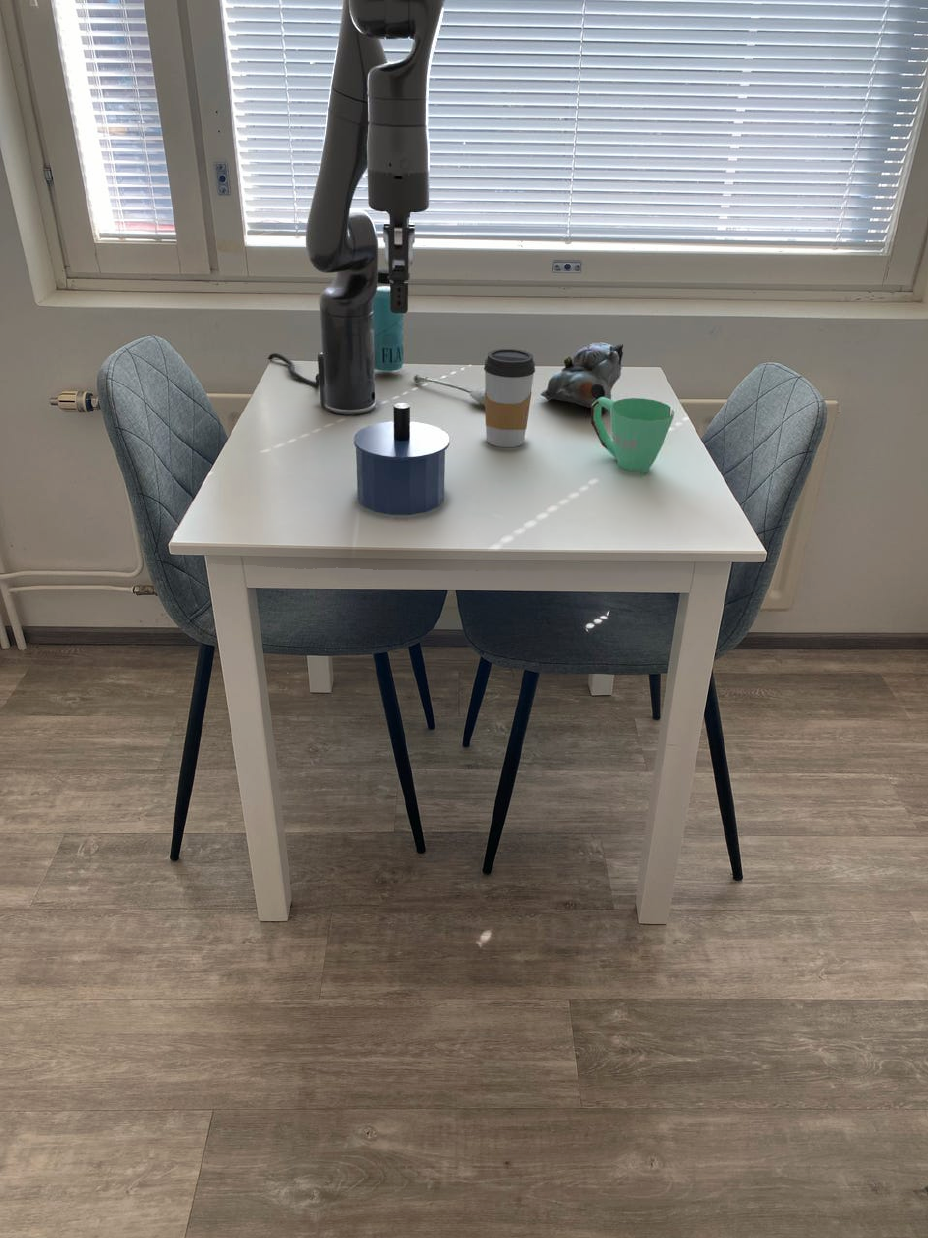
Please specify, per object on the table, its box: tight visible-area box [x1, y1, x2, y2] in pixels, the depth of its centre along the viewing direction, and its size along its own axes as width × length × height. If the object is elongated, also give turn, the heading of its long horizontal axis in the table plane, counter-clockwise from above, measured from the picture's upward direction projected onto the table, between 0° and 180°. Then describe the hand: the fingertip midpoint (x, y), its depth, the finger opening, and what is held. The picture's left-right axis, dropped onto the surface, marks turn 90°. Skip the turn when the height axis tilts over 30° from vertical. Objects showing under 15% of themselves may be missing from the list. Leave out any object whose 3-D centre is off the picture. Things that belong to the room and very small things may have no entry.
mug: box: [590, 397, 675, 475], centre depth 144 cm, size 15×10×10 cm
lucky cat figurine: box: [540, 342, 624, 415], centre depth 166 cm, size 15×12×14 cm
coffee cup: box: [483, 348, 536, 448], centre depth 148 cm, size 8×8×15 cm
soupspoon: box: [413, 374, 485, 407], centre depth 171 cm, size 22×3×7 cm
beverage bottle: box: [373, 268, 404, 372], centre depth 176 cm, size 6×7×20 cm
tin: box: [355, 447, 446, 516], centre depth 130 cm, size 13×13×9 cm
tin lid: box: [353, 402, 450, 460], centre depth 126 cm, size 14×14×6 cm
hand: (399, 303), depth 117 cm, fingers open, 8 cm apart
